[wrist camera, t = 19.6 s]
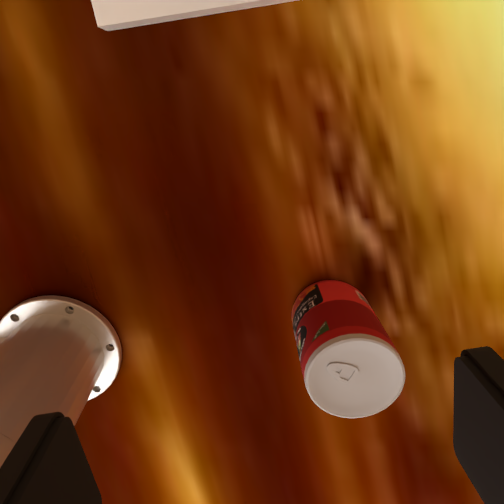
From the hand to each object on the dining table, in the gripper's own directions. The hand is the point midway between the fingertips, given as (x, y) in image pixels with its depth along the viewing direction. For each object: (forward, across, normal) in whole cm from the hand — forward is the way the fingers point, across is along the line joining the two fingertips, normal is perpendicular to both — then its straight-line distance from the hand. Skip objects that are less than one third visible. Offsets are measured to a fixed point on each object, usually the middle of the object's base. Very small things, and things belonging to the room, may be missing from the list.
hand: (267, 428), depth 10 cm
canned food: (+30, -6, +14) cm, 34 cm away
